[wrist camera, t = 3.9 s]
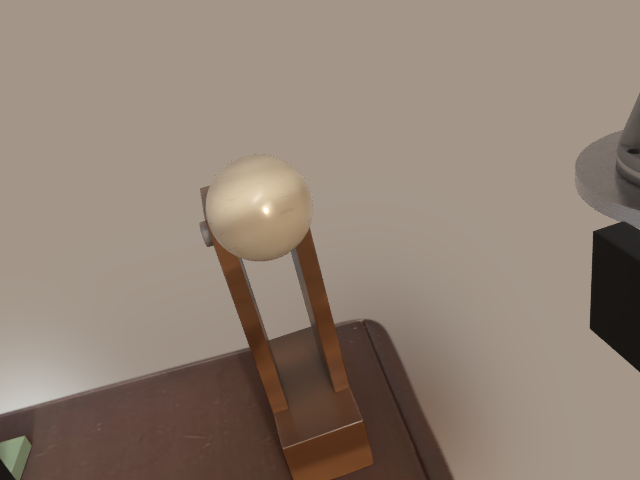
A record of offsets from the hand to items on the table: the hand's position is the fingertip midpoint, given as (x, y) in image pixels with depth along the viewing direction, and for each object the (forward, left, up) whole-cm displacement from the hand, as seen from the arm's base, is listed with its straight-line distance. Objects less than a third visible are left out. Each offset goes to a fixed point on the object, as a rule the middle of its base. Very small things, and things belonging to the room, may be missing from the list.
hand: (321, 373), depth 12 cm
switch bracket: (-9, -16, -21) cm, 28 cm away
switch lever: (-6, -11, -4) cm, 13 cm away
